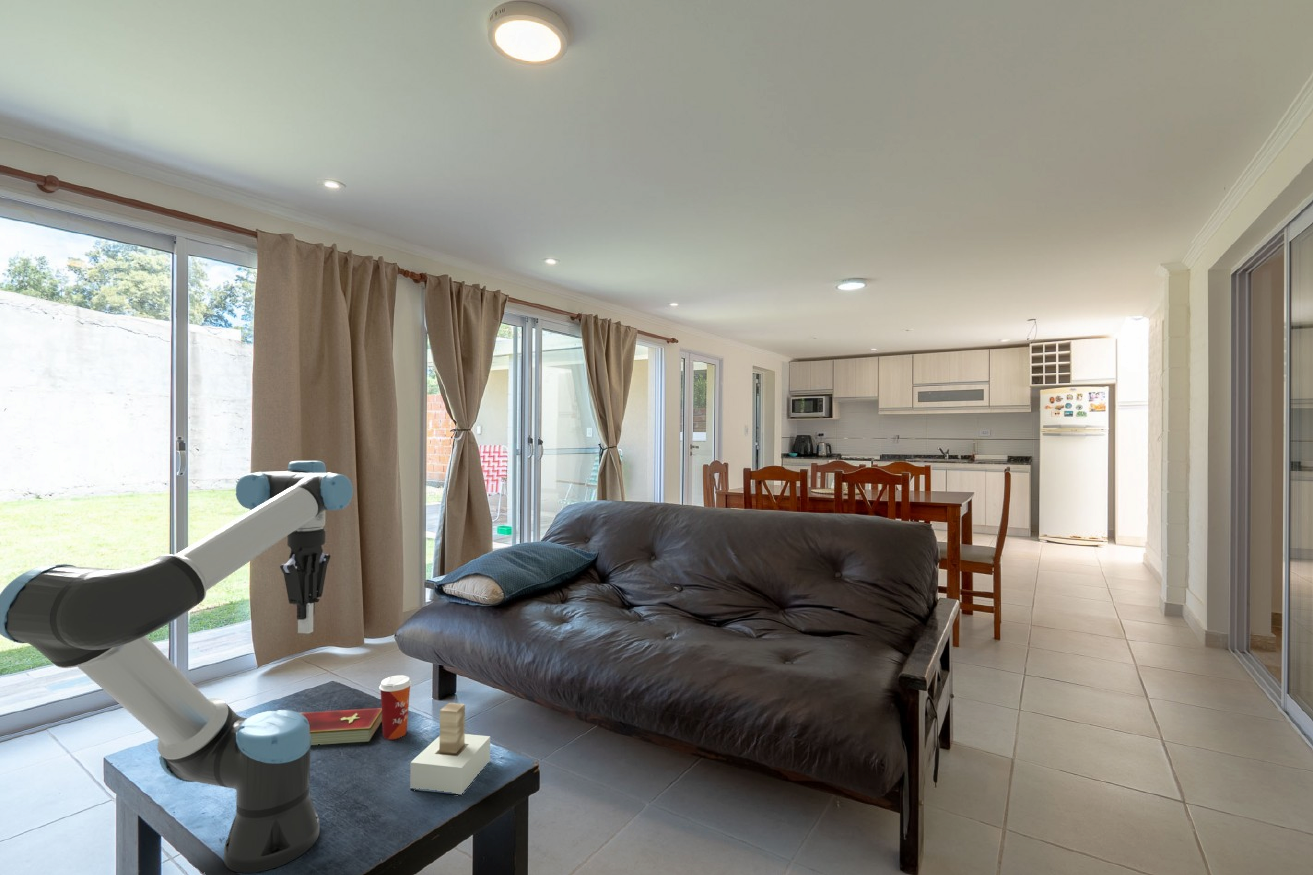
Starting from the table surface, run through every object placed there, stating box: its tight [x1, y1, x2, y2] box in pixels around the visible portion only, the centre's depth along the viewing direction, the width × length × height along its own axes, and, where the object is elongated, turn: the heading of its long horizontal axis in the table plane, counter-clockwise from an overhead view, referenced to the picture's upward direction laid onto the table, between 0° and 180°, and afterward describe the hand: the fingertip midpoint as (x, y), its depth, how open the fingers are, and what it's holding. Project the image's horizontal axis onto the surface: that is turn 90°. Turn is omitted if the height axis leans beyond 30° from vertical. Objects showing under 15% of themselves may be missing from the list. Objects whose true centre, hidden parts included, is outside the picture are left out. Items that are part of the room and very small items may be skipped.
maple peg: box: [439, 702, 466, 756], centre depth 137 cm, size 4×4×14 cm
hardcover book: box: [299, 707, 382, 746], centre depth 156 cm, size 12×21×4 cm, turn 99°
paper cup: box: [378, 674, 412, 740], centre depth 156 cm, size 8×8×14 cm
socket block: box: [409, 733, 491, 794], centre depth 137 cm, size 14×12×6 cm
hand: (305, 632), depth 137 cm, fingers closed
